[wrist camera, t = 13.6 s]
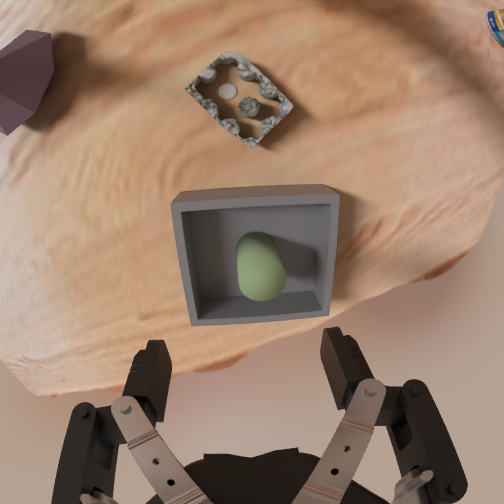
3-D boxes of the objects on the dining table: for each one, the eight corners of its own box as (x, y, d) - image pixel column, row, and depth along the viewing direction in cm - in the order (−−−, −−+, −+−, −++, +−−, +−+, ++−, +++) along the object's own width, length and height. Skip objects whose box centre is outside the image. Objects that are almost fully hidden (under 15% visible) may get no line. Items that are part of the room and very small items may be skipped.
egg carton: (185, 92, 28) (179, 87, 25) (231, 52, 26) (230, 42, 23) (247, 150, 32) (248, 152, 28) (291, 110, 30) (299, 107, 26)
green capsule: (235, 232, 34) (237, 260, 27) (274, 230, 35) (287, 258, 28) (236, 267, 37) (239, 302, 29) (274, 266, 37) (285, 299, 30)
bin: (180, 191, 33) (170, 203, 28) (323, 184, 34) (339, 194, 28) (196, 300, 40) (191, 326, 34) (317, 291, 40) (328, 315, 35)
